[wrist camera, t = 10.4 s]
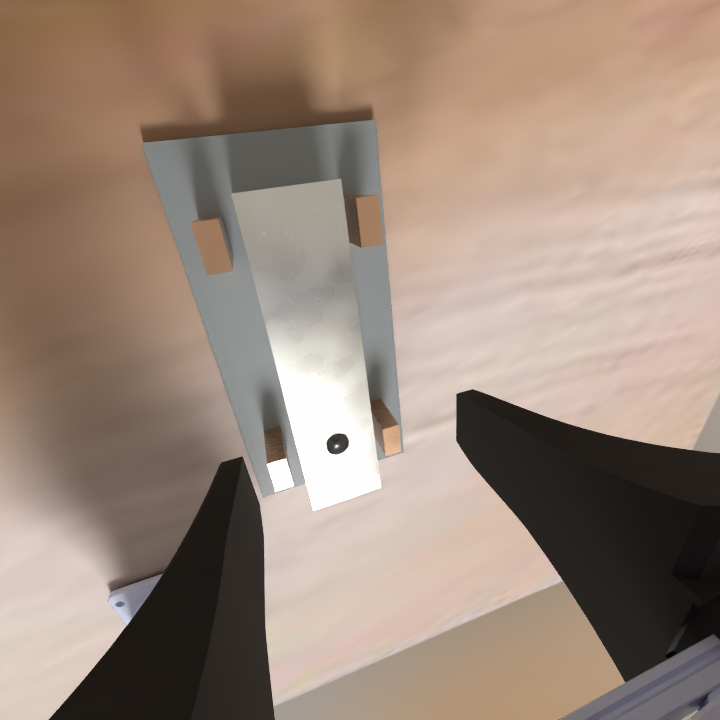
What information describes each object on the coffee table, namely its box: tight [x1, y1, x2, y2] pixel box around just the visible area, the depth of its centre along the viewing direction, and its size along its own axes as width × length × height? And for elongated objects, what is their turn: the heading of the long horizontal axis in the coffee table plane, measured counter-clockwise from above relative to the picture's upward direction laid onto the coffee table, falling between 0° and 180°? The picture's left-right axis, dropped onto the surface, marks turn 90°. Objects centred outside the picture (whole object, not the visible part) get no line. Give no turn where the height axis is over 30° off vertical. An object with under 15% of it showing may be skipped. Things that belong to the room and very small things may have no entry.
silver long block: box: [231, 179, 381, 510], centre depth 18 cm, size 16×4×4 cm, turn 7°
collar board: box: [141, 120, 404, 497], centre depth 19 cm, size 20×10×4 cm, turn 7°
